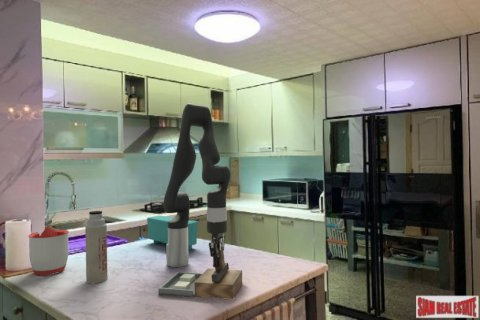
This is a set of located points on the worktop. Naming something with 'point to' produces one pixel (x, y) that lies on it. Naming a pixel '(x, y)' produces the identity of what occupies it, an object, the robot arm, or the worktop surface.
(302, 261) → the worktop surface
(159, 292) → the bin
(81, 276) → the worktop surface
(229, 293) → the board
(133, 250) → the worktop surface
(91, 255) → the thermos bottle
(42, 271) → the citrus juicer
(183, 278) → the tile
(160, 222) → the radio
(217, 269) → the scraper
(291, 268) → the worktop surface
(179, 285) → the tile
